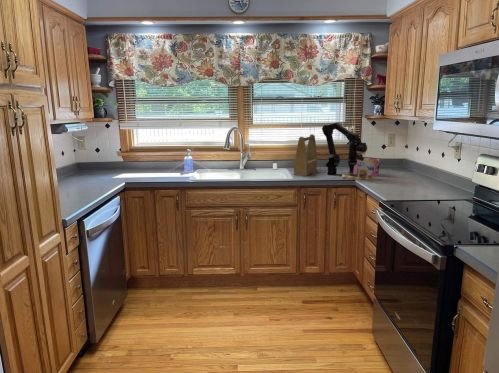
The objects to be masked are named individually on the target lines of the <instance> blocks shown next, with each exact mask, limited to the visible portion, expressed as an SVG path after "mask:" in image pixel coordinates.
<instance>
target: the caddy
mask: <svg viewBox="0 0 499 373" xmlns="http://www.w3.org/2000/svg"><path fill="white" fill-rule="evenodd" d="M306 141H308V143H307V146H306ZM316 143H317V142H316V136H315V134H310V135H309V136H306V137H304V136H299V137H298V141H297V146H296V152H295V155H294V163H293V175H294V176H301V177H306V176H309V175H310V174H313V173H315V172H316V171H317V168H318V152H317V145H316Z"/></svg>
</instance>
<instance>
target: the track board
mask: <svg viewBox="0 0 499 373" xmlns="http://www.w3.org/2000/svg"><path fill="white" fill-rule="evenodd" d="M341 178H342V180H359V181H374V178H373V176H372V175H368V178H366V177H359V178H358V176H349V173H348V174H347V173H342V175H341Z"/></svg>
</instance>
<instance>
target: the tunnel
mask: <svg viewBox="0 0 499 373" xmlns="http://www.w3.org/2000/svg"><path fill="white" fill-rule="evenodd" d="M360 170H366V172H365V173H366V178H368V168H367V167H362V166H357V173H358V178H359V173H360Z"/></svg>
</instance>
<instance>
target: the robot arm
mask: <svg viewBox="0 0 499 373" xmlns="http://www.w3.org/2000/svg"><path fill="white" fill-rule="evenodd" d="M321 130H322V133H323V135H324V136H325V138H326V139H325V140H326V143H327V149H328V153H329V155H328V156H329V157H328V161H327V162H326V163H325V167H327V173H326V174H327V175H328V176H329V175H330V176H336V175H337V173H338V172H337V170H338V169H337V167H338V166H339V164H340V163H341V158H340V154H337V152H336V147H335V143H334V137H333V134H334V130H336V131H338V132H339V133H341V134H342V135H343V136H345V137H346V140H348V142H346V145H348V157H347V163H348V164H347V165H348V169H349V168H350V171H351V173H352V172H353V169H354V166H355V165H356V164H357V159H358V160H361V161H363V160H364V157H365V156H363V153H366V152H367V150H368V146H367V142H362V140H361V138H360V135H359V134H358V133H355V132H354V131H350V130H349V129H347V128H346V127H344V126H343V125H341V124H340V123H339V122H334V123H331V124H324V125H322V127H321ZM358 152H360V154H358Z"/></svg>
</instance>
